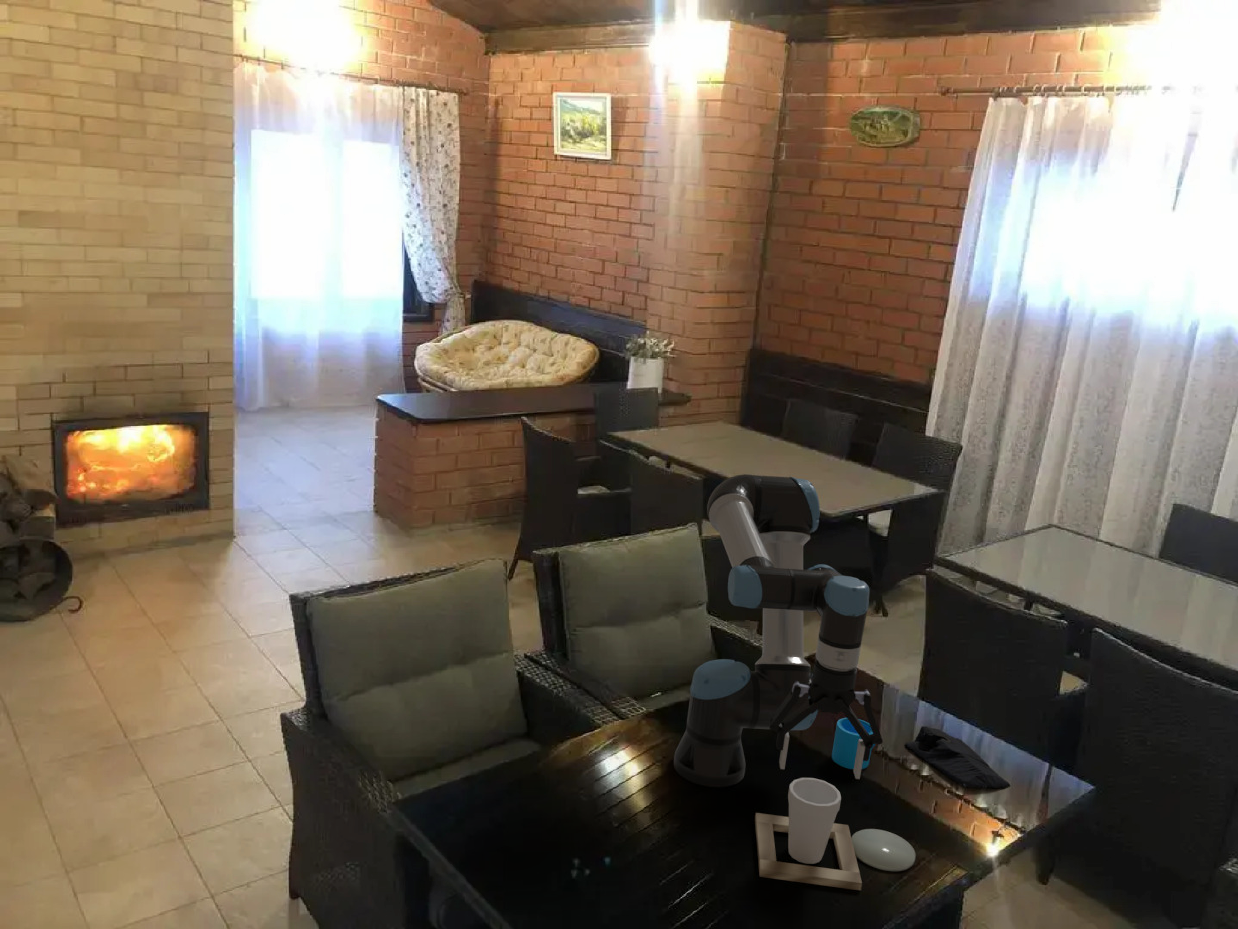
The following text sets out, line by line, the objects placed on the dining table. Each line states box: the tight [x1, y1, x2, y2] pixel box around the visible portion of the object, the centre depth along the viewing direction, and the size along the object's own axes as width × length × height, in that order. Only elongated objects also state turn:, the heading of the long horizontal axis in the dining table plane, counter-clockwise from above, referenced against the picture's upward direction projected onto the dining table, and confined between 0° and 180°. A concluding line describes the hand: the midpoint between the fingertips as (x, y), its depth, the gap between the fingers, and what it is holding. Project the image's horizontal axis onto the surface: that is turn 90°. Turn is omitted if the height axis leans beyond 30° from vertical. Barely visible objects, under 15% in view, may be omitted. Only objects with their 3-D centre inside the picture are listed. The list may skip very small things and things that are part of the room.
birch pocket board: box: [754, 812, 863, 891], centre depth 192 cm, size 18×18×2 cm
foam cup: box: [787, 777, 842, 865], centre depth 190 cm, size 10×9×13 cm
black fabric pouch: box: [904, 725, 1011, 789], centre depth 230 cm, size 15×22×5 cm
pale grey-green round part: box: [851, 828, 916, 872], centre depth 195 cm, size 12×12×1 cm
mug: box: [831, 717, 876, 770], centre depth 228 cm, size 12×8×8 cm
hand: (819, 770), depth 188 cm, fingers open, 13 cm apart
